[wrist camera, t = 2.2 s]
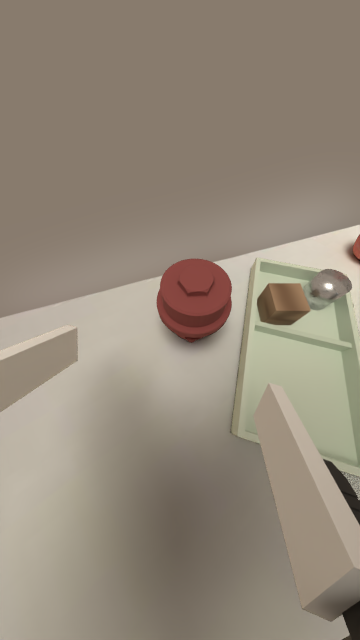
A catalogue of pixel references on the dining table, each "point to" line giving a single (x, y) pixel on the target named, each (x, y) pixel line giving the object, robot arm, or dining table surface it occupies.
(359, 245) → the apple
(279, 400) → the robot arm
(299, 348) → the tray
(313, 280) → the metal ellipsoid
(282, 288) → the walnut block
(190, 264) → the mechanical component
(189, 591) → the dining table surface
